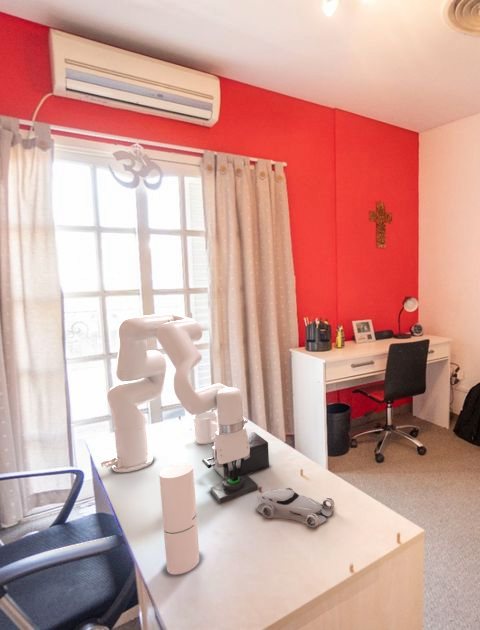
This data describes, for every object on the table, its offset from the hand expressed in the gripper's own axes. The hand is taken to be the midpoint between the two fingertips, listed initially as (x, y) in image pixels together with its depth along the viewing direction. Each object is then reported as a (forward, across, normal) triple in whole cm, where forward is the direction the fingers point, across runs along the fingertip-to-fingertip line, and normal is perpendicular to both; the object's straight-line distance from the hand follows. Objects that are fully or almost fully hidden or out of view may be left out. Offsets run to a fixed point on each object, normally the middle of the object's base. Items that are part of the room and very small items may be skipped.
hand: (234, 479), depth 138 cm
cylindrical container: (+4, +22, +26) cm, 34 cm away
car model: (+4, -9, +24) cm, 26 cm away
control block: (+4, 0, 0) cm, 4 cm away
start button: (+2, 0, 0) cm, 2 cm away
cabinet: (+4, -8, -14) cm, 17 cm away
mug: (+4, -6, -46) cm, 47 cm away
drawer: (+3, -4, -14) cm, 15 cm away
